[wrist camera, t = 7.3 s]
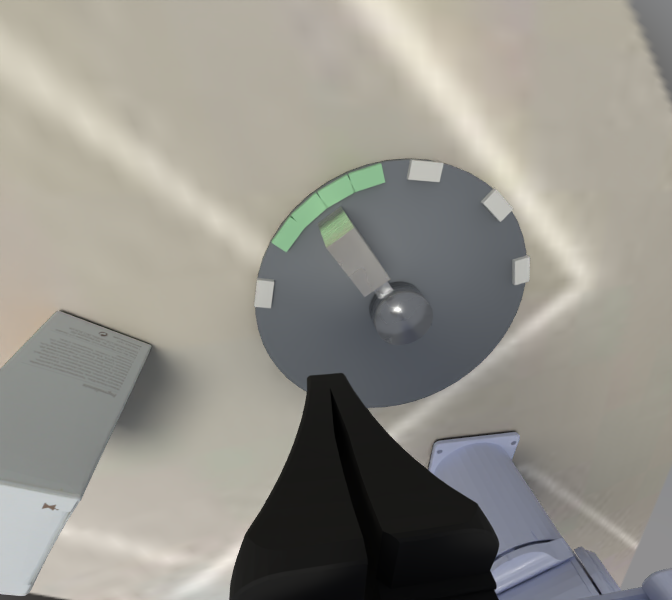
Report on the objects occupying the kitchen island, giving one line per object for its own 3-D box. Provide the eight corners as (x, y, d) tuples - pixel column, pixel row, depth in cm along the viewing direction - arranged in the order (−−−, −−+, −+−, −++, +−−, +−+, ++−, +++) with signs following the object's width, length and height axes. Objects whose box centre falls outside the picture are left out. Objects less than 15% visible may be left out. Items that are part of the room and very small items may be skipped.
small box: (58, 306, 22) (-98, 461, 12) (155, 343, 24) (82, 499, 15) (20, 399, 24) (-133, 584, 15) (110, 425, 26) (25, 601, 17)
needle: (431, 309, 25) (456, 342, 21) (386, 338, 25) (404, 374, 22) (355, 195, 20) (371, 214, 17) (303, 234, 21) (309, 260, 18)
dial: (488, 391, 30) (494, 399, 30) (265, 412, 28) (265, 421, 27) (556, 157, 22) (567, 159, 21) (240, 157, 19) (239, 160, 18)
